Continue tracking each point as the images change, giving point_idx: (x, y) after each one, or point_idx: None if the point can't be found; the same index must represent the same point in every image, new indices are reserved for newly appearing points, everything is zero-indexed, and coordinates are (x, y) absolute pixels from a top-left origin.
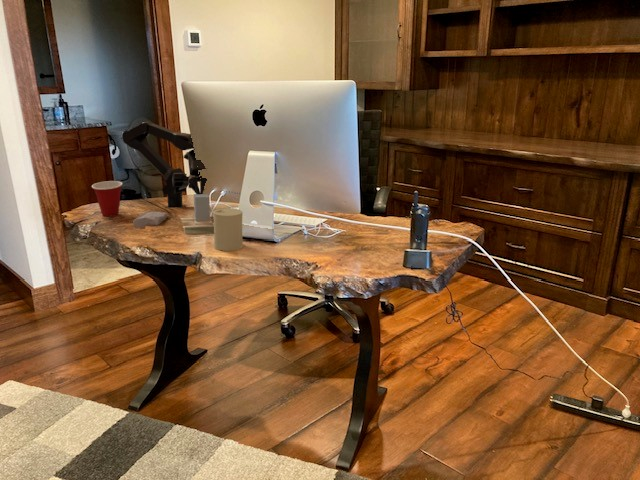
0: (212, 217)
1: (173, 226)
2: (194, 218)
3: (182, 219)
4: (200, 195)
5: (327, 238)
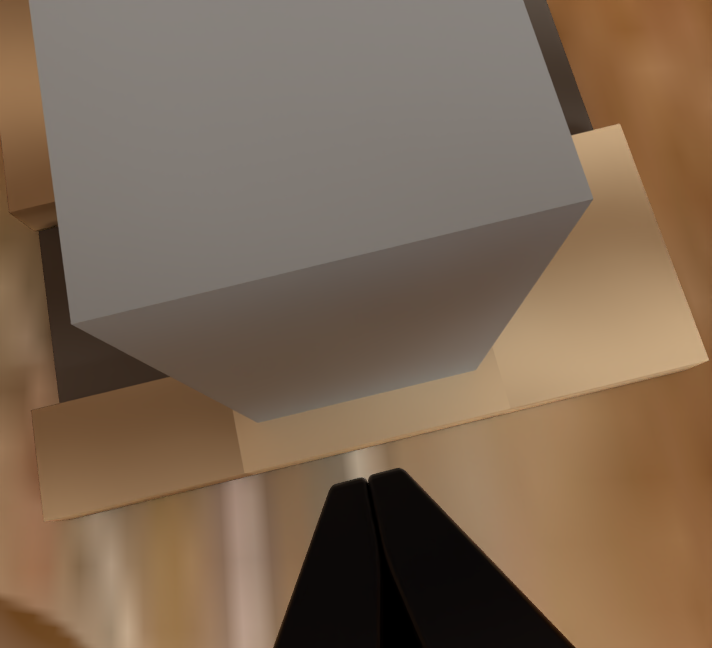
0: (187, 422)
1: (707, 108)
2: None
3: (650, 274)
4: (313, 58)
5: None
